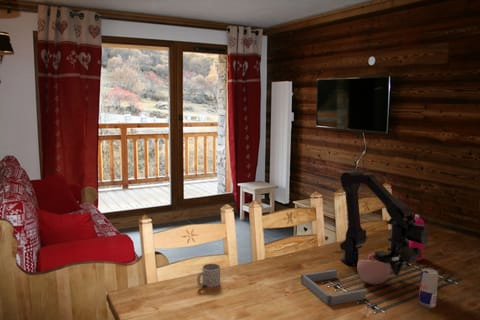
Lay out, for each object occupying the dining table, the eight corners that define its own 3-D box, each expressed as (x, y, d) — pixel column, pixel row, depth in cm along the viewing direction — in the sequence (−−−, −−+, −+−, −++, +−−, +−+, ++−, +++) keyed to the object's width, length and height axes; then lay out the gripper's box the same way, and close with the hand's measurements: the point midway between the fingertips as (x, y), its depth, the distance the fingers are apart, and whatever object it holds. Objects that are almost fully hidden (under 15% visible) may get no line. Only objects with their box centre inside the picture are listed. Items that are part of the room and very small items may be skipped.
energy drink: (415, 300, 143) (418, 268, 142) (430, 300, 144) (432, 267, 142) (423, 308, 138) (426, 274, 136) (438, 307, 139) (441, 274, 137)
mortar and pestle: (389, 279, 161) (390, 251, 159) (389, 292, 150) (391, 262, 148) (357, 274, 165) (358, 247, 163) (355, 287, 154) (357, 257, 152)
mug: (212, 278, 160) (212, 262, 159) (223, 283, 155) (223, 267, 154) (191, 286, 153) (191, 269, 152) (203, 292, 148) (203, 274, 148)
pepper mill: (424, 261, 179) (428, 217, 176) (407, 260, 180) (410, 216, 177) (420, 255, 186) (424, 212, 183) (404, 254, 187) (407, 211, 184)
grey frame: (300, 282, 157) (301, 274, 157) (334, 276, 163) (335, 269, 162) (328, 305, 139) (328, 297, 139) (365, 298, 145) (366, 290, 144)
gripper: (393, 246, 148) (391, 287, 150) (433, 241, 154) (430, 280, 156) (373, 237, 158) (371, 275, 160) (412, 232, 165) (409, 269, 167)
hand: (396, 275), depth 161 cm, fingers closed
